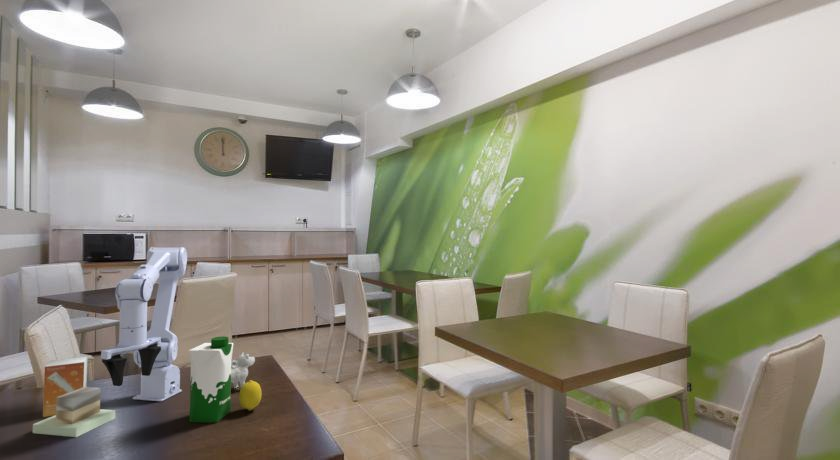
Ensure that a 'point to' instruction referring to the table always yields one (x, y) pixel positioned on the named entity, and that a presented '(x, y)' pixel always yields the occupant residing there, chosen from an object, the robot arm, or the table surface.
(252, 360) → the dog figurine
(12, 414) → the table surface
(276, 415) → the table surface
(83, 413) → the cream layered block
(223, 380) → the milk carton
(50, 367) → the small box
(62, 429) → the stand
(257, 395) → the lemon
